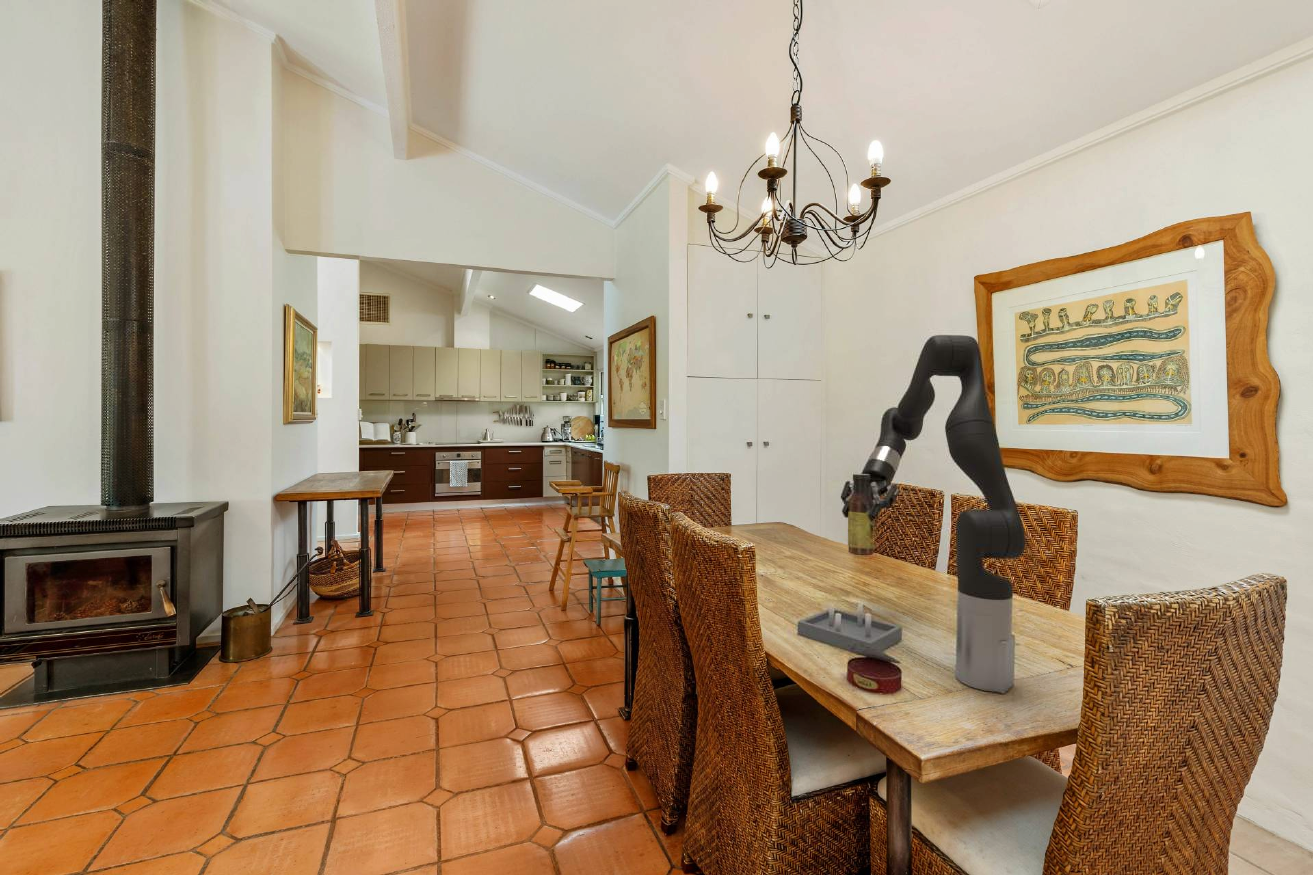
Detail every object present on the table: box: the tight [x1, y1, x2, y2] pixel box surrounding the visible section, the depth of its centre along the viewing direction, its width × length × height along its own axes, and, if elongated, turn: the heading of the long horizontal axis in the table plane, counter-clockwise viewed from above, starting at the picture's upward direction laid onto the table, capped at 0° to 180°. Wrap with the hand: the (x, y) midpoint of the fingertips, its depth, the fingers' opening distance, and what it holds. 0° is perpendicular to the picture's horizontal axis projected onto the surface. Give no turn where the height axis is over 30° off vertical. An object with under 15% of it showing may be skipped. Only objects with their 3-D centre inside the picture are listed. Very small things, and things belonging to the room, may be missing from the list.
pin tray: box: [797, 603, 903, 652], centre depth 134 cm, size 18×15×6 cm
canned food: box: [846, 642, 903, 695], centre depth 111 cm, size 11×10×10 cm
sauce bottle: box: [847, 473, 876, 556], centre depth 144 cm, size 6×6×20 cm
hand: (857, 516), depth 143 cm, fingers closed on sauce bottle, 6 cm apart
